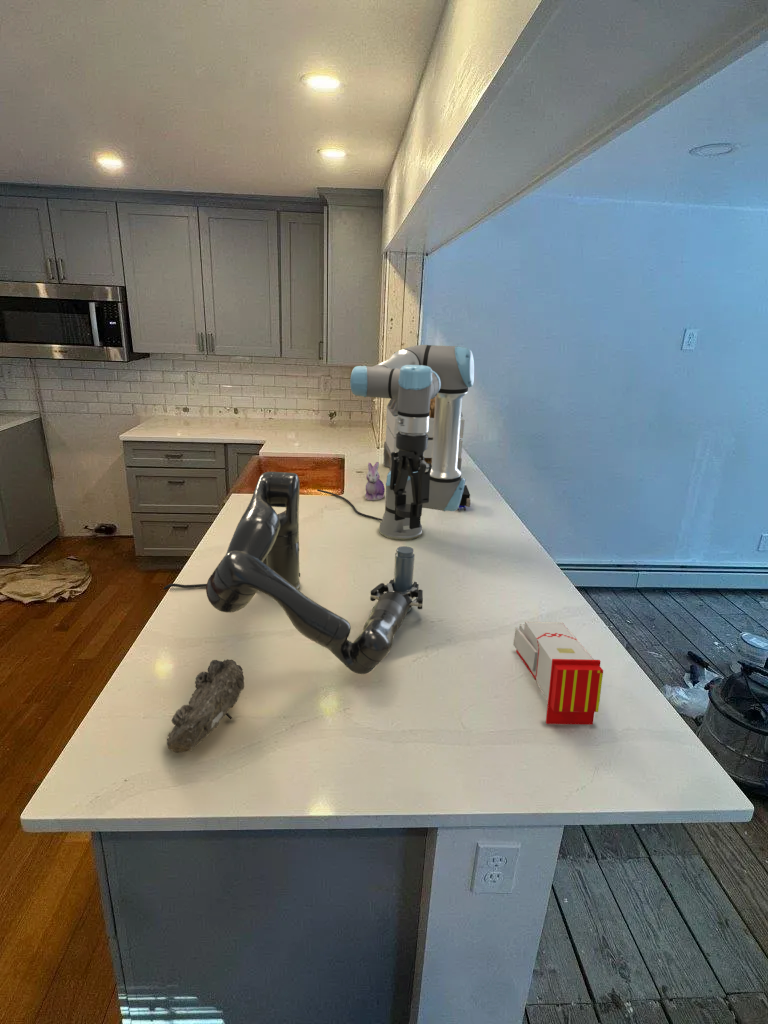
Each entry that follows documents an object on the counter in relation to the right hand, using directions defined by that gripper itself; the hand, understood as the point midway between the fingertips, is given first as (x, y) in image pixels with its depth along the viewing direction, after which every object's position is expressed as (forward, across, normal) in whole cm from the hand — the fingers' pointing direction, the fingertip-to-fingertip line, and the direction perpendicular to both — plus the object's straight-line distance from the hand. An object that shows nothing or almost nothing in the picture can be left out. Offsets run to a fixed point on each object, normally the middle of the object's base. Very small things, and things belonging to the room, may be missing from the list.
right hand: (407, 523), depth 142 cm
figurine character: (+25, -56, +68) cm, 92 cm away
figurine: (+25, -81, +43) cm, 95 cm away
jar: (+24, 0, 0) cm, 24 cm away
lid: (-4, 0, 0) cm, 4 cm away
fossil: (+24, +16, -56) cm, 63 cm away
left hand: (+18, -1, +2) cm, 18 cm away
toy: (+24, +42, +9) cm, 49 cm away
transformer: (+25, -103, +83) cm, 135 cm away
